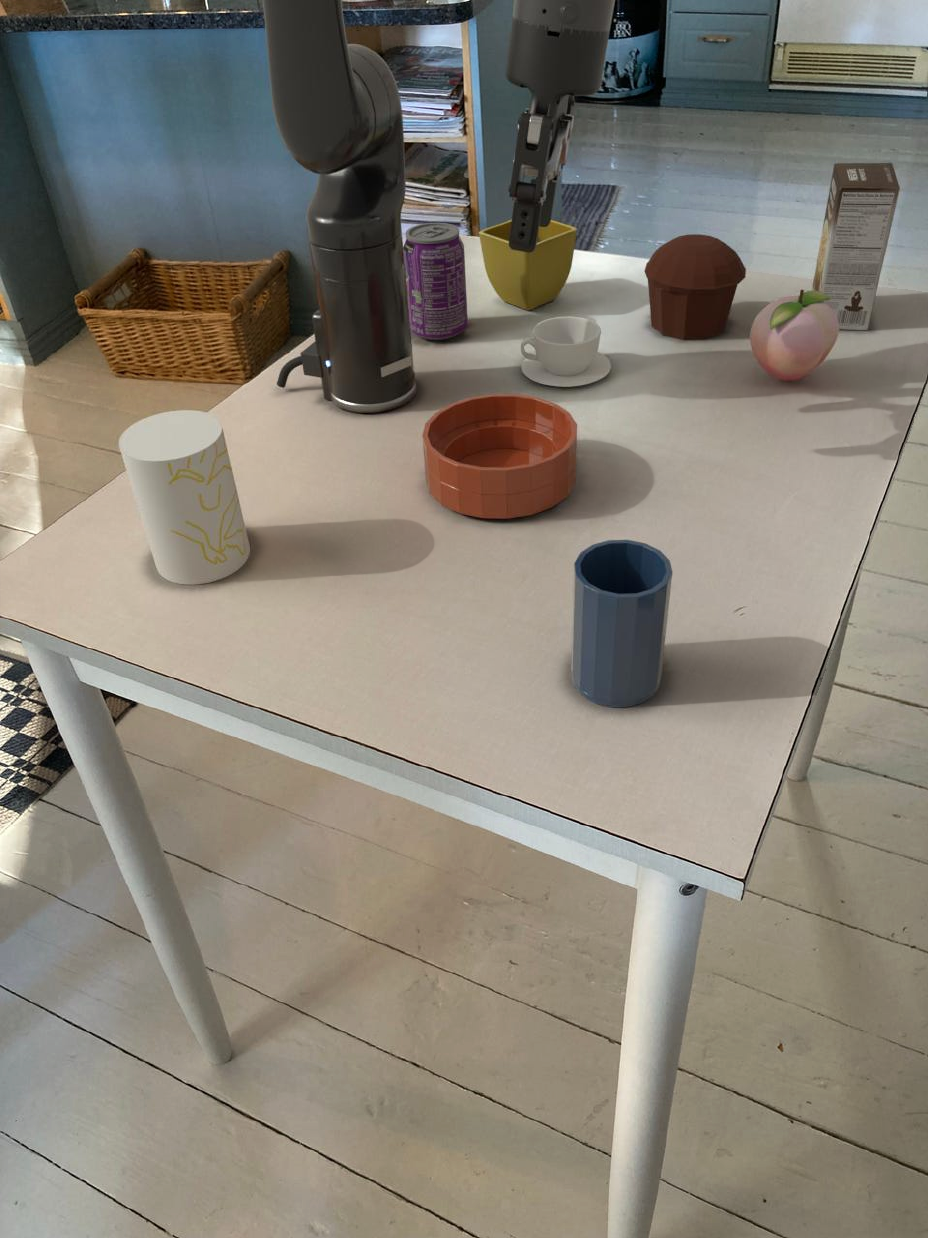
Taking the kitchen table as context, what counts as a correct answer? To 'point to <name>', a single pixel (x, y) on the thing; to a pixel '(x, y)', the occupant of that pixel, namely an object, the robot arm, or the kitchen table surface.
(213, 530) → the cup
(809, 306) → the decorative fruit
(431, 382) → the kitchen table surface
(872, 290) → the coffee box
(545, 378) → the teacup
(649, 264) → the muffin
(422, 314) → the beverage can
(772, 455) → the kitchen table surface
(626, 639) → the tumbler
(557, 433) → the bowl
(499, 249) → the flower pot
